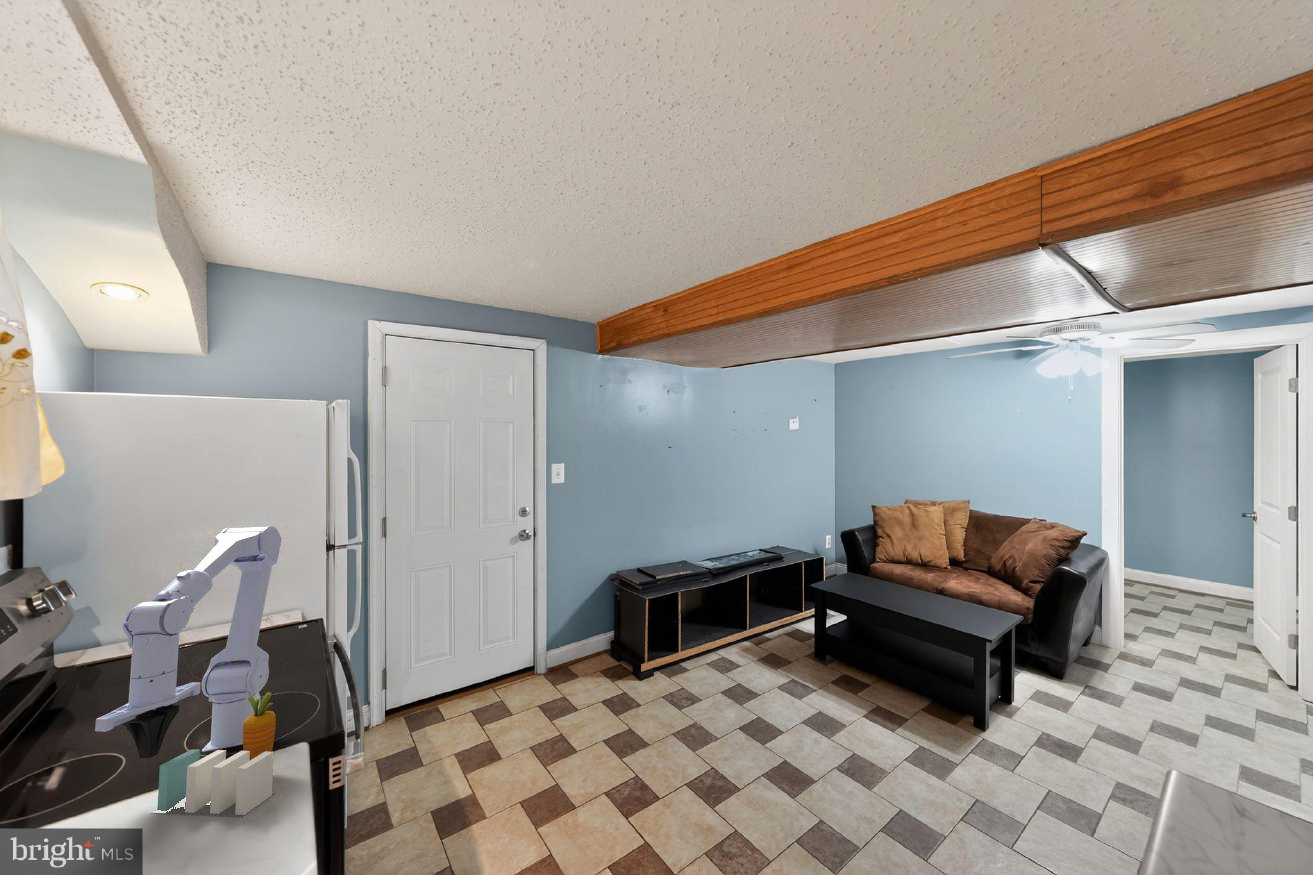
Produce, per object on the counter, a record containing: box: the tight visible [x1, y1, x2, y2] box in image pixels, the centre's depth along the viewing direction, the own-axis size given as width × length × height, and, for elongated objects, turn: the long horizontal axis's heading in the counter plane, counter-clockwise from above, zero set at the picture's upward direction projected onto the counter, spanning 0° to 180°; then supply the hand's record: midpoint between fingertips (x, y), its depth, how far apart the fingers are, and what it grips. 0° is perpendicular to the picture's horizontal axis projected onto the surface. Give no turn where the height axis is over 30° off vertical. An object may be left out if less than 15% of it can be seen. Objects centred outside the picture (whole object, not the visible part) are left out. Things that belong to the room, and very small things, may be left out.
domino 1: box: [185, 749, 227, 813], centre depth 83 cm, size 2×5×7 cm, turn 174°
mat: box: [165, 792, 276, 818], centre depth 82 cm, size 16×6×1 cm, turn 84°
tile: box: [156, 748, 201, 811], centre depth 83 cm, size 2×5×7 cm, turn 173°
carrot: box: [242, 691, 277, 761], centre depth 90 cm, size 5×5×15 cm
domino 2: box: [210, 750, 250, 814], centre depth 82 cm, size 2×5×7 cm, turn 174°
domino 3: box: [235, 751, 275, 816], centre depth 82 cm, size 2×5×7 cm, turn 174°
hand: (148, 755), depth 84 cm, fingers closed
